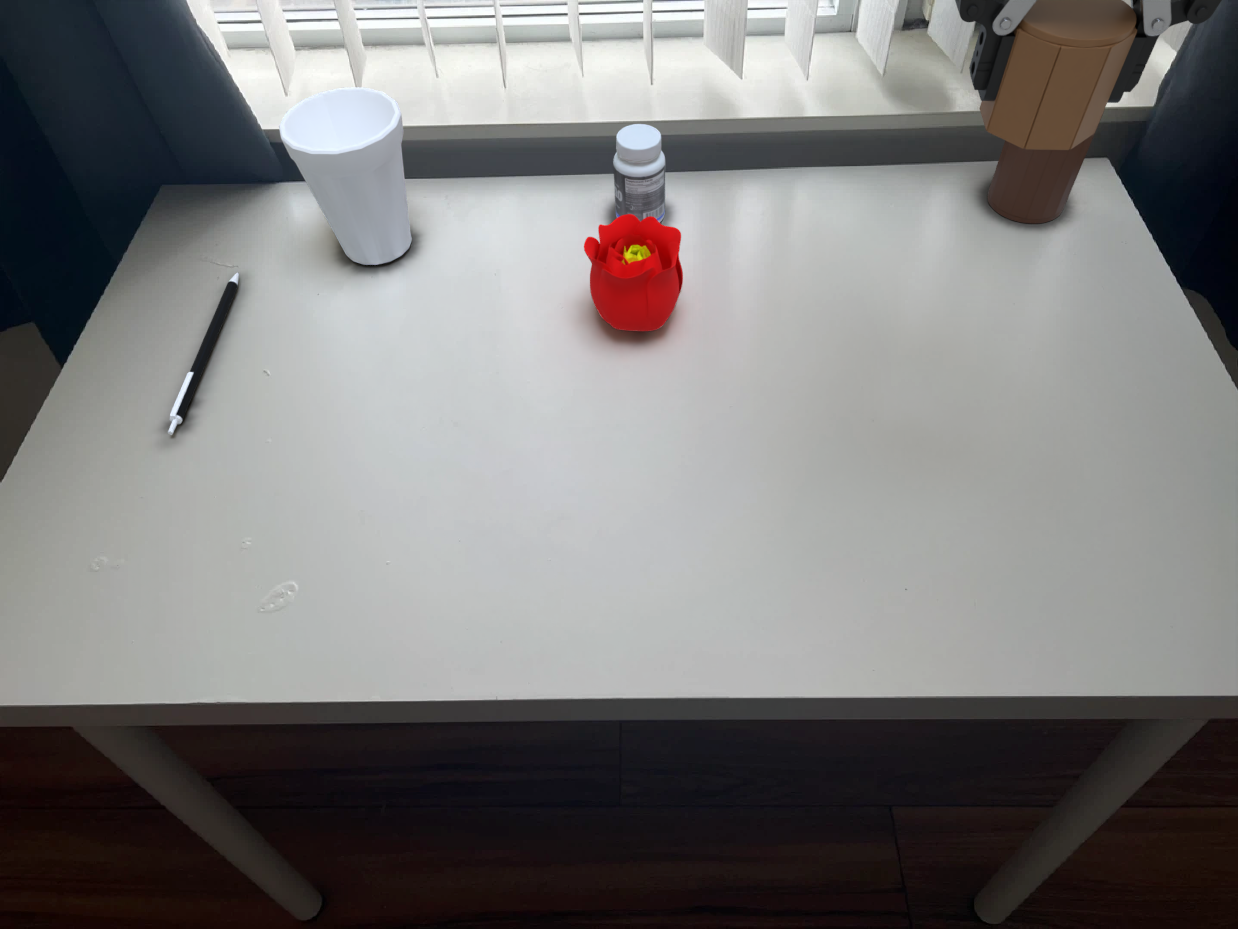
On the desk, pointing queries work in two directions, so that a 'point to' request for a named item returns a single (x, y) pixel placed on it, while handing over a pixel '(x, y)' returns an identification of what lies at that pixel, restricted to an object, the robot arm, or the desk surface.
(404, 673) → the desk surface
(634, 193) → the pill bottle
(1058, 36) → the brown octagonal prism
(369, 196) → the cup
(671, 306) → the flower
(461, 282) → the desk surface
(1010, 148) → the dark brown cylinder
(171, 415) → the pen
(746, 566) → the desk surface
